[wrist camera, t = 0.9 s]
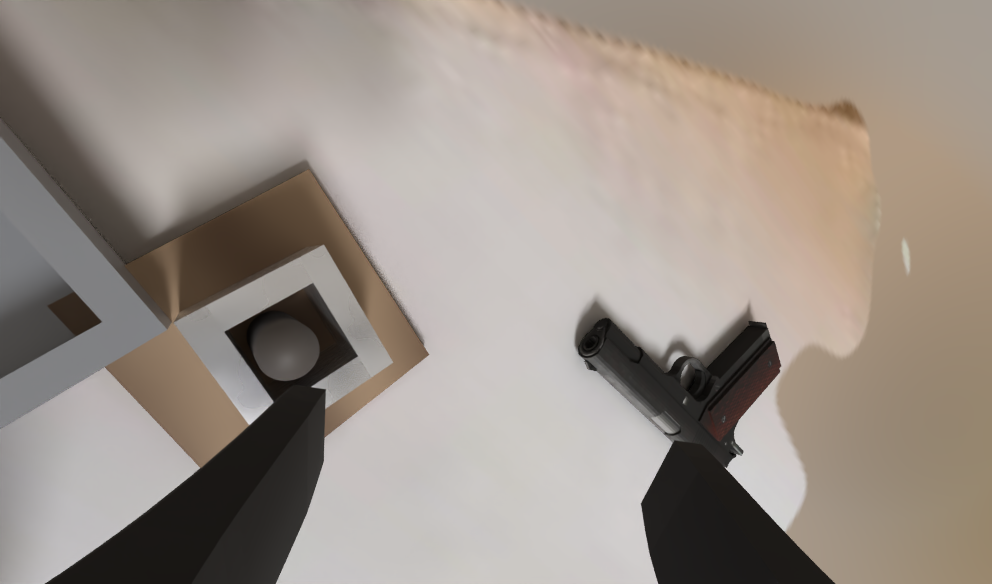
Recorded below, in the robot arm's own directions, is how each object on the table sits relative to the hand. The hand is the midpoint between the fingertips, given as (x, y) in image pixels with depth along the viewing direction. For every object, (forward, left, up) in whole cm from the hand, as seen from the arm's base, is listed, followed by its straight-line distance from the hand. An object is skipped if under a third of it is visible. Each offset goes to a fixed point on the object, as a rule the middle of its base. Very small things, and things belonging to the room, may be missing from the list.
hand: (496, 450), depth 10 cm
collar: (-1, +2, -13) cm, 13 cm away
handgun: (+19, -15, -14) cm, 29 cm away
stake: (-2, +2, -14) cm, 14 cm away
